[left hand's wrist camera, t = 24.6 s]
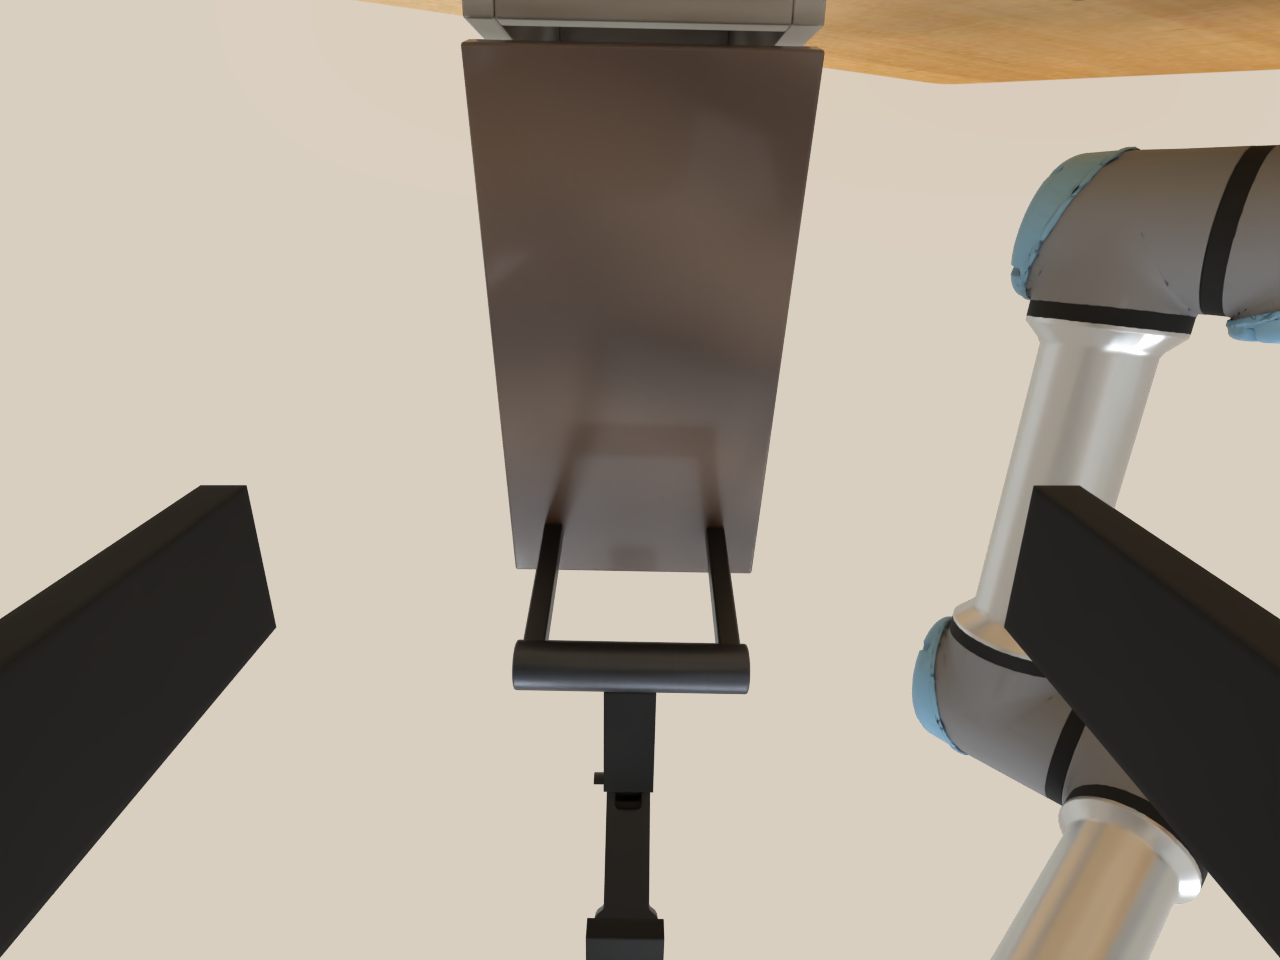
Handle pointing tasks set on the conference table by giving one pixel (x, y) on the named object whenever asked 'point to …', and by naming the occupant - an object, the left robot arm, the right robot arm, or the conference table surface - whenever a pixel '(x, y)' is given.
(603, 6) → the chest
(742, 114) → the lid
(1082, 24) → the conference table surface
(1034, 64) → the conference table surface
